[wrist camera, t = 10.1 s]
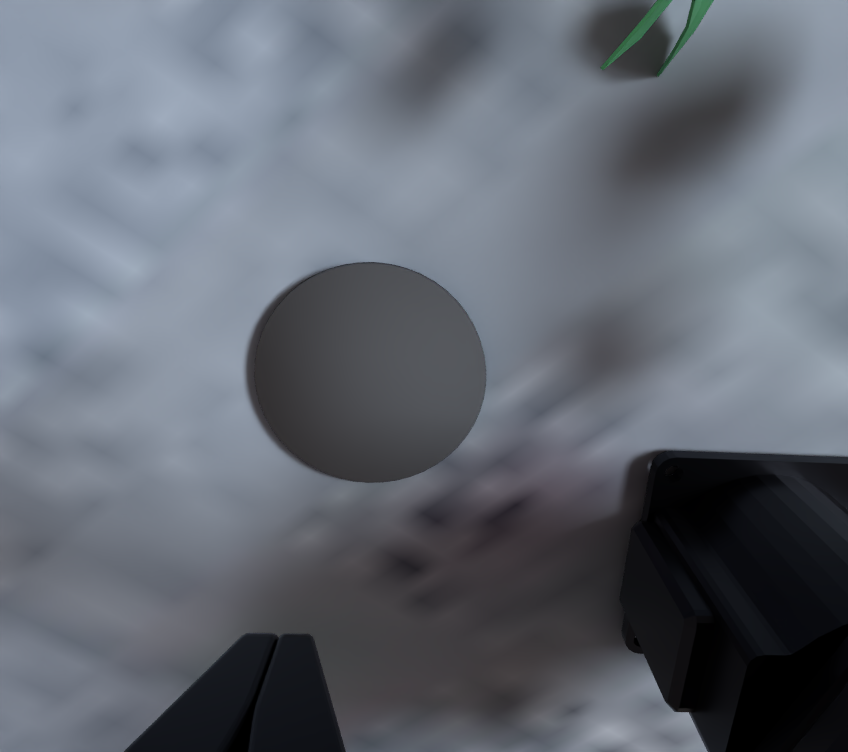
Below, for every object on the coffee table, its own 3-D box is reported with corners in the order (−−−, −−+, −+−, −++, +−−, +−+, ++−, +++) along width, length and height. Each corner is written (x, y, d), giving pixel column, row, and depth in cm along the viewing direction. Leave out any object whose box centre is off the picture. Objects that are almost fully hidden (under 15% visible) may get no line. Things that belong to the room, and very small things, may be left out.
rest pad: (494, 267, 17) (495, 270, 17) (476, 481, 19) (477, 486, 19) (253, 256, 17) (250, 258, 17) (260, 473, 19) (257, 478, 19)
